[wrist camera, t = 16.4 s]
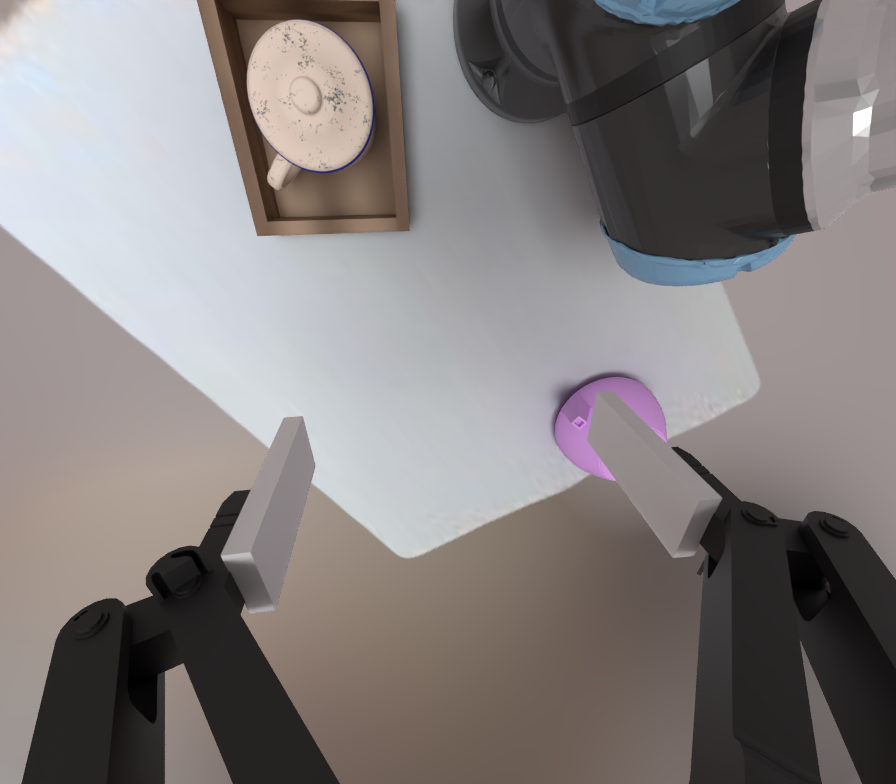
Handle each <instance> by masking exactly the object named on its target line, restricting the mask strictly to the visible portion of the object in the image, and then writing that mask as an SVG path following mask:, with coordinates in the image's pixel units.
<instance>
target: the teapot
mask: <svg viewBox="0 0 896 784" xmlns="http://www.w3.org/2000/svg"><path fill="white" fill-rule="evenodd" d="M608 391H613V392H614V393H615V394H616V395H617V396H618V397H619V398H620V399H622V400H623V401H624V402H625V403H626V404H627V405H628V406H629V407H630V408H631V409H632V410H633V411H634V412H635V413H636V414H637V415H638V416H639V417H640V418H641V419H642V420H643V421H644V422H645V423H646V424H647V425H648V426H649V427H650V428H651V429H652V430H653V431H654V432H655V433H656V434H657V435H658V436H659V437H660V438H661V439H662V440H663V441H664V442H666V443H667V431H666V422H665V417H664V414H663V411H662V408H661V406H660V404H659V403H658V401H657V399H656V398H655V397H654V395H653V394H652V393H651V391H650V390H649V389H647V388H646V387H645V386H644V385H643V384H641V383H640V382H638V381H635V380H633V379H629V378H624V377H610V378H604V379H601V380H597V381H595V382H592V383H590V384H588V385H586V386H584V387H582V388H581V389H579V390H578V391H577V392H576V393H574V394H573V395H572V396H571V397H570V398H569V399H568V401H567V402H566V403H565V404H564V406H563V407H562V408H561V411H560V413H559V415H558V417H557V420H556V424H555V439H556V442H557V445H558V447H559V449H560V450H561V451H562V453H563V454H564V455H565V456H566V457H567V458H568V459H569V460H570V461H571V462H572V463H573V464H574V465H576V466H577V467H579V468H580V469H582V470H584V471H586V472H588V473H590V474H593V475H595V476H598V477H601V478H604V479H608V480H613V481H616V479H615V478H614V477H613V475H612V474H611V473H610V471H609V470H608V469H607V467H606V466H605V464H604V463H603V462H602V460H601V459H600V458H599V456H598V455H597V454H596V452H595V451H594V449H593V448H592V447H591V445H590V444H589V443H588V441H587V437H588V432H589V428H590V423H591V418H592V414H593V409H594V404H595V400H596V395H597V392H608Z"/></svg>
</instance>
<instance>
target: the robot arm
mask: <svg viewBox="0 0 896 784" xmlns="http://www.w3.org/2000/svg"><path fill="white" fill-rule="evenodd" d="M453 25H454V38H455V44H456V49H457V54H458V58H459V61H460V64H461V67H462V70H463V72H464V75H465V77H466V79H467V81H468V83H469V85H470V87H471V88H472V90H473V91H474V93H475V94H476V95H477V97H478V98H479V99H480V100H481V101H482V103H483V104H485V105H486V106H487V107H488V108H489V109H490V110H491V111H493V112H494V113H496V114H497V115H499V116H501V117H503V118H505V119H508V120H511V121H515V122H521V123H534V122H540V121H544V120H547V119H550V118H552V117H555V116H557V115H559V114H561V113H563V112H565V111H567V110H568V113H569V117H570V120H571V124H572V128H573V132H574V135H575V138H576V141H577V144H578V147H579V151H580V154H581V157H582V160H583V163H584V167H585V170H586V173H587V176H588V179H589V182H590V186H591V189H592V192H593V195H594V198H595V202H596V205H597V208H598V211H599V214H600V217H601V219H600V226H601V229H602V232H603V234H604V236H605V237H606V238H607V239H608V241H609V243H610V246H611V248H612V251H613V254H614V256H615V259H616V261H617V263H618V264H619V266H620V267H621V268H622V269H624V270H625V271H626V272H627V274H629V275H630V276H632V277H633V278H636V279H638V280H640V281H643V282H646V283H650V284H655V285H662V286H694V285H702V284H709V283H714V282H719V281H723V280H727V279H731V278H733V277H734V276H735V275H736V273H737V272H738V271H746V272H751V271H754V270H756V269H758V268H760V267H762V266H764V265H766V264H768V263H770V262H771V261H773V260H774V259H776V258H777V257H778V256H779V255H780V254H782V253H783V252H784V251H785V250H786V249H787V248H788V246H789V245H790V243H791V242H792V240H793V238H794V237H795V236H796V234H800V233H805V232H811V231H817V230H821V229H825V228H826V227H828V226H829V225H830V224H831V223H833V222H834V221H835V220H836V219H837V218H839V217H840V216H841V215H842V214H843V213H844V212H845V211H847V210H848V209H849V208H850V207H851V206H852V205H853V204H855V203H856V202H857V201H858V200H860V199H862V198H863V197H865V196H867V195H869V194H870V193H872V192H876V191H880V190H884V189H890V188H894V187H896V0H884V1H883V0H882V1H875V0H814V1H812V2H810V3H808V4H806V5H804V6H802V7H801V8H799V9H797V10H795V11H793V12H789V13H787V11H786V8H785V0H454V11H453ZM587 441H588V443H589V444H590V445H591V447H592V448H593V449H594V451H595V452H596V454H597V455H598V456H599V458H600V459H601V460H602V462H603V463H604V464H605V466H606V467H607V469H608V470H609V471H610V473H611V474H612V475H613V477H614V478H615V479H616V481H617V482H618V483H619V485H620V486H621V488H622V489H623V490H624V492H625V493H626V494H627V496H628V497H629V499H630V500H631V501H632V503H633V504H634V505H635V507H636V508H637V509H638V511H639V512H640V514H641V515H642V516H643V518H644V519H645V520H646V522H647V523H648V525H649V526H650V527H651V529H652V530H653V531H654V533H655V534H656V535H657V537H658V538H659V540H660V541H661V542H662V543H663V545H664V546H665V548H666V549H667V550H668V552H669V553H670V555H671V556H672V557H673V558H678V557H687V556H694V554H695V552H696V550H697V548H698V546H699V544H701V545H702V546H703V548H704V549H705V550H706V551H707V555H706V556H705V559H704V560H703V562H702V564H701V566H700V568H699V570H698V572H697V574H699V575H701V574H702V572H703V588H702V602H701V619H700V634H699V650H698V666H697V681H696V697H695V712H694V728H693V744H692V759H691V774H690V781H689V784H822V782H821V778H820V772H819V765H818V758H817V752H816V745H815V739H814V732H813V725H812V719H811V712H810V706H809V699H808V692H807V686H806V679H805V672H804V667H803V659H802V652H801V647H800V641H801V643H802V645H803V647H804V650H805V652H806V655H807V657H808V659H809V661H810V664H811V666H812V668H813V671H814V673H815V675H816V678H817V680H818V682H819V685H820V687H821V689H822V691H823V694H824V696H825V699H826V701H827V703H828V705H829V708H830V710H831V712H832V715H833V717H834V719H835V722H836V724H837V726H838V729H839V731H840V733H841V735H842V738H843V740H844V743H845V745H846V747H847V749H848V752H849V754H850V757H851V759H852V761H853V763H854V766H855V768H856V770H857V773H858V775H859V777H860V780H861V782H862V784H896V580H895V578H894V577H893V576H892V574H891V573H890V571H889V570H888V569H887V567H886V566H885V565H884V563H883V562H882V561H881V559H880V558H879V556H878V555H877V554H876V552H875V551H874V550H873V548H872V547H871V545H870V544H869V543H868V541H867V540H866V539H865V537H864V536H863V534H862V533H861V532H860V531H859V530H858V529H857V528H856V527H855V526H853V525H852V524H850V523H849V522H847V521H846V520H844V519H842V518H840V517H838V516H835V515H832V514H829V513H826V512H819V511H813V512H810V513H808V515H807V516H806V517H805V519H804V521H803V522H801V521H794V520H787V519H780V518H777V517H776V516H775V515H774V514H773V513H772V512H770V511H769V510H767V509H766V508H764V507H762V506H760V505H757V504H755V503H750V502H746V501H743V502H742V501H740V500H739V499H738V498H737V497H736V496H735V495H734V494H733V493H732V492H731V491H730V490H729V489H728V488H726V487H725V486H724V485H723V484H722V483H721V482H720V481H719V480H718V479H717V478H716V477H715V476H714V475H713V474H710V472H709V471H708V470H707V469H706V468H705V467H704V466H702V465H701V463H700V462H699V461H698V460H697V459H695V458H694V457H693V456H692V455H691V454H689V453H688V452H686V451H684V450H682V449H680V448H679V447H669V445H668V444H667V443H666V442H664V441H663V440H662V439H661V438H660V437H659V436H658V435H657V434H656V433H655V432H654V431H653V430H652V429H651V428H650V427H649V426H648V425H647V424H646V423H645V422H644V421H643V420H642V419H641V418H640V417H639V416H638V415H637V414H636V413H635V412H634V411H633V410H632V409H631V408H630V407H629V406H628V405H627V404H626V403H625V402H624V401H623V400H622V399H620V398H619V397H618V396H617V395H616V394H615V393H614V392H613V391H608V392H597V395H596V400H595V404H594V409H593V414H592V418H591V423H590V428H589V432H588V437H587ZM314 470H315V462H314V458H313V454H312V450H311V446H310V443H309V439H308V435H307V431H306V427H305V423H304V419H303V416H300V417H287V418H284V419H283V421H282V423H281V425H280V428H279V430H278V432H277V434H276V436H275V438H274V441H273V443H272V445H271V447H270V449H269V452H268V454H267V456H266V458H265V460H264V462H263V464H262V467H261V469H260V471H259V473H258V475H257V478H256V480H255V482H254V484H253V486H252V488H251V490H243V491H234V492H233V493H232V494H231V495H230V496H229V497H228V498H227V499H226V500H225V501H224V502H223V503H222V505H221V507H220V509H219V511H218V512H217V514H216V518H214V520H213V522H212V524H211V525H210V529H208V531H207V533H206V535H205V537H204V539H203V541H202V543H201V544H200V546H199V547H197V546H186V547H181V548H178V549H176V550H174V551H171V552H169V553H167V554H166V555H165V556H163V557H162V558H160V559H159V560H158V561H157V562H156V563H155V564H154V565H153V566H152V567H151V569H150V570H149V572H148V574H147V576H146V586H147V587H148V589H149V590H150V591H151V593H152V594H153V596H151V597H148V598H145V599H143V600H140V601H138V602H135V603H132V604H129V605H127V606H125V605H124V604H123V603H122V602H121V601H119V600H118V599H115V598H114V599H112V598H111V599H103V600H101V601H97V602H94V603H92V604H91V605H89V606H87V607H85V608H84V609H82V610H80V611H79V612H78V613H77V614H75V615H74V616H73V617H72V618H70V620H69V621H68V622H67V623H66V624H65V625H64V626H63V628H62V629H61V630H60V633H59V634H58V637H57V639H56V642H55V646H54V650H53V654H52V658H51V663H50V667H49V671H48V675H47V679H46V684H45V688H44V692H43V696H42V700H41V705H40V709H39V713H38V718H37V721H36V725H35V730H34V734H33V738H32V742H31V747H30V751H29V755H28V759H27V763H26V767H25V772H24V776H23V780H22V784H165V671H167V670H169V669H171V668H174V667H176V666H178V665H180V664H182V663H184V665H185V667H186V670H187V672H188V675H189V677H190V680H191V682H192V685H193V687H194V690H195V692H196V695H197V697H198V699H199V702H200V704H201V707H202V709H203V712H204V714H205V717H206V719H207V721H208V724H209V726H210V729H211V731H212V734H213V736H214V738H215V741H216V743H217V746H218V748H219V750H220V753H221V756H222V758H223V760H224V763H225V765H226V768H227V770H228V773H229V775H230V778H231V780H232V782H233V784H340V783H339V782H338V780H337V778H336V777H335V775H334V773H333V771H332V770H331V768H330V766H329V765H328V763H327V761H326V760H325V758H324V756H323V754H322V753H321V751H320V749H319V748H318V746H317V744H316V743H315V741H314V739H313V737H312V736H311V734H310V732H309V731H308V729H307V727H306V726H305V724H304V722H303V720H302V719H301V717H300V715H299V714H298V712H297V710H296V709H295V707H294V705H293V703H292V702H291V700H290V698H289V697H288V695H287V693H286V692H285V690H284V688H283V686H282V685H281V683H280V681H279V680H278V678H277V676H276V675H275V673H274V671H273V669H272V668H271V666H270V664H269V663H268V661H267V659H266V658H265V656H264V654H263V653H262V651H261V649H260V647H259V646H258V644H257V642H256V640H255V639H254V637H253V636H252V634H251V632H250V630H249V629H248V627H247V625H246V624H245V622H244V620H243V619H242V617H241V612H242V609H243V606H244V603H245V605H246V607H247V608H248V611H249V613H257V612H265V611H272V610H276V608H277V604H278V600H279V597H280V593H281V589H282V586H283V582H284V579H285V575H286V572H287V568H288V564H289V561H290V557H291V553H292V550H293V546H294V542H295V538H296V535H297V531H298V528H299V524H300V521H301V517H302V513H303V510H304V506H305V502H306V499H307V495H308V491H309V488H310V484H311V480H312V477H313V473H314ZM799 638H800V639H799Z"/></svg>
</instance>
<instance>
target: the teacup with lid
mask: <svg viewBox="0 0 896 784" xmlns="http://www.w3.org/2000/svg"><path fill="white" fill-rule="evenodd" d="M247 93H248V99H249V104H250V107H251V111H252V114H253V116H254V119H255V121H256V123H257V125H258V128H259V129H260V131H261V133H262V134H263V136H264V137H265V139H266V140H267V142H268V143H269V144H270V145H271V147H272V148H273V149H274V150H275V151H276V152H277V153H278V154H277V156H276V157H275V159H274V161H273V163H272V165H271V167H270V169H269V172H268V176H267V181H268V183H269V184H270V185H271V186H272V187H273V188H275V189H276V190H282V189H284V188H286V187H287V186H288V185H289V184H290V183H291V182H292V181H293V180H294V179H295V177H296V176H297V175H298V173H299V172H300V170H301V169H303V170H306V171H310V172H315V173H332V172H336V171H343V170H347V169H350V168H352V167H354V166H356V165H357V164H359V163H360V162H361V161H362V160H363V159H364V158H365V157H366V155H367V154H368V152H369V151H370V149H371V147H372V144H373V141H374V138H375V132H376V115H375V104H374V96H373V91H372V87H371V83H370V80H369V77H368V74H367V72H366V70H365V68H364V66H363V64H362V62H361V60H360V59H359V57H358V55H357V54H356V53H355V51H354V50H353V49H352V47H351V46H350V45H349V44H348V43H347V42H346V41H345V40H344V39H343V38H342V37H341V36H340V35H338V34H337V33H336V32H335V31H333V30H332V29H330V28H328V27H326V26H324V25H322V24H320V23H318V22H314V21H311V20H305V19H292V20H287V21H283V22H280V23H278V24H276V25H274V26H273V27H271V28H270V29H268V30H267V31H266V32H265V33H264V34H263V35H262V36H261V38H260V39H259V40H258V42H257V43H256V45H255V47H254V49H253V51H252V54H251V57H250V60H249V64H248V70H247Z"/></svg>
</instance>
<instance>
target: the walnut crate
mask: <svg viewBox="0 0 896 784" xmlns="http://www.w3.org/2000/svg"><path fill="white" fill-rule="evenodd" d="M197 3H198V7H199V11H200V15H201V18H202V22H203V26H204V30H205V34H206V38H207V42H208V46H209V50H210V53H211V57H212V61H213V65H214V69H215V73H216V77H217V81H218V85H219V88H220V92H221V96H222V100H223V104H224V108H225V112H226V116H227V120H228V123H229V127H230V131H231V135H232V139H233V143H234V147H235V151H236V155H237V158H238V162H239V166H240V170H241V174H242V178H243V182H244V186H245V190H246V194H247V197H248V201H249V205H250V209H251V213H252V217H253V221H254V225H255V229H256V232H257V236H272V235H301V234H331V233H360V232H389V231H410V229H409V213H408V198H407V182H406V166H405V151H404V135H403V120H402V104H401V88H400V73H399V57H398V41H397V26H396V10H395V0H197ZM292 19H305V20H311V21H314V22H318V23H320V24H322V25H324V26H326V27H328V28H330V29H332V30H333V31H335V32H336V33H337V34H338V35H340V36H341V37H342V38H343V39H344V40H345V41H346V42H347V43H348V44H349V45H350V46H351V47H352V49H353V50H354V51H355V53H356V54H357V55H358V57H359V59H360V60H361V62H362V64H363V66H364V68H365V70H366V72H367V74H368V77H369V80H370V83H371V87H372V91H373V96H374V104H375V115H376V132H375V138H374V141H373V144H372V147H371V149H370V151H369V152H368V154H367V155H366V157H365V158H364V159H363V160H362V161H361V162H360V163H359V164H357V165H356V166H354V167H352V168H350V169H347V170H343V171H336V172H332V173H315V172H310V171H306V170H303V169H301V170H300V172H299V173H298V175H297V176H296V177H295V179H294V180H293V181H292V182H291V183H290V184H289V185H288V186H287V187H286V188H284V189H282V190H276V189H275V188H273V187H272V186H271V185H270V184H269V183H268V181H267V176H268V172H269V169H270V167H271V165H272V163H273V161H274V159H275V157H276V156H277V154H278V153H277V152H276V151H275V150H274V149H273V148H272V147H271V145H270V144H269V143H268V142H267V140H266V139H265V137H264V136H263V134H262V133H261V131H260V129H259V128H258V125H257V123H256V121H255V119H254V116H253V114H252V111H251V107H250V104H249V99H248V93H247V70H248V64H249V60H250V57H251V54H252V51H253V49H254V47H255V45H256V43H257V42H258V40H259V39H260V38H261V36H262V35H263V34H264V33H265V32H266V31H267V30H268V29H270V28H271V27H273V26H274V25H276V24H278V23H280V22H283V21H287V20H292Z"/></svg>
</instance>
